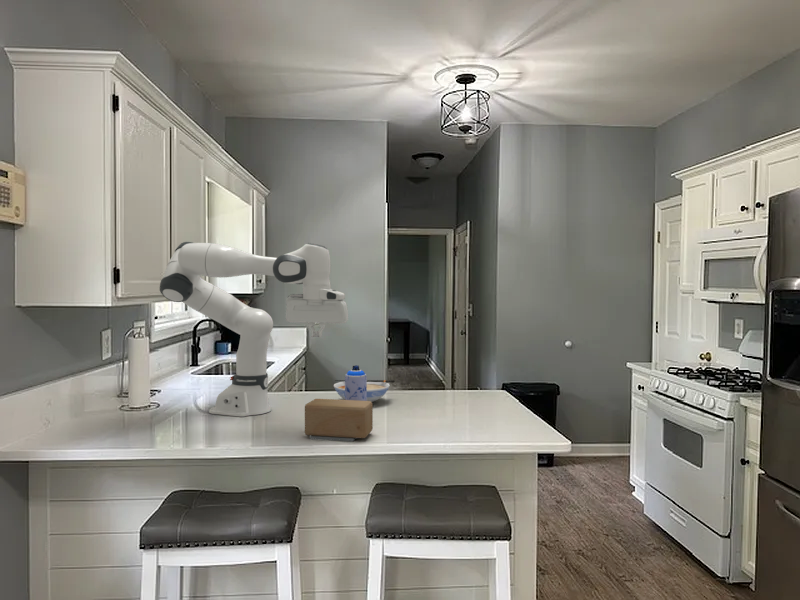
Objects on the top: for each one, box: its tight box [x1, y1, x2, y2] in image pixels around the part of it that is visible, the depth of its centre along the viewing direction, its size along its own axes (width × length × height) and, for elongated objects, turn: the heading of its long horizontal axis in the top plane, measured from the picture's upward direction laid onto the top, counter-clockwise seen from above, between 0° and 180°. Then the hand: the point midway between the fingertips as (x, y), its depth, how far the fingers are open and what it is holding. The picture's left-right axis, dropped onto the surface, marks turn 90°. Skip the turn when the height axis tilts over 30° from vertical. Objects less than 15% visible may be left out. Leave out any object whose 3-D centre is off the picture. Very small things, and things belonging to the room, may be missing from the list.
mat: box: [309, 435, 357, 442], centre depth 186 cm, size 14×11×1 cm
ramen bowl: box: [333, 379, 396, 403], centre depth 236 cm, size 25×23×8 cm
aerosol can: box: [344, 365, 368, 401], centre depth 203 cm, size 8×8×20 cm
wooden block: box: [304, 398, 374, 439], centre depth 186 cm, size 10×10×20 cm
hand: (316, 336), depth 188 cm, fingers closed
